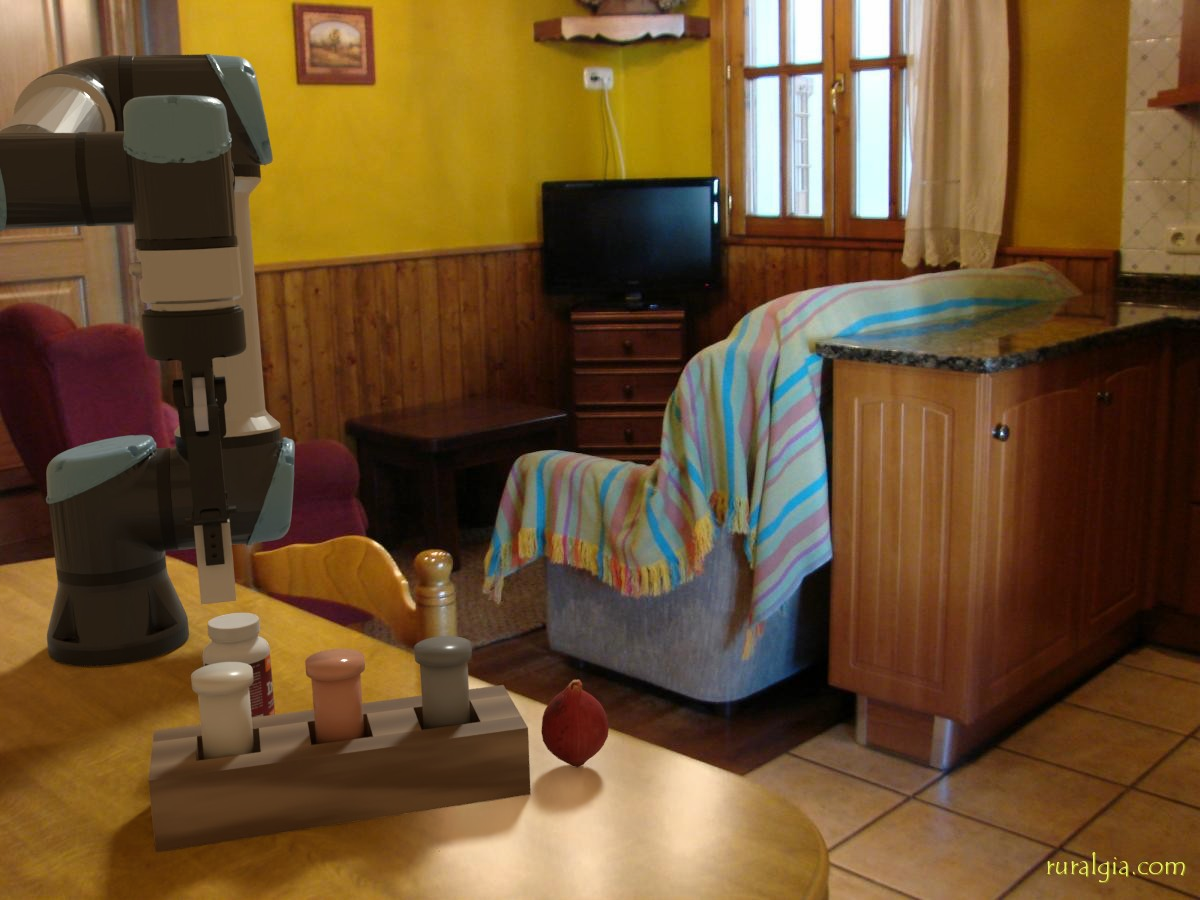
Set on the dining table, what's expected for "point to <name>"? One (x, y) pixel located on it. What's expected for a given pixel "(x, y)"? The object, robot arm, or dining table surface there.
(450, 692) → the plug blue-grey
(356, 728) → the plug terracotta
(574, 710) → the onion
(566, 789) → the dining table surface
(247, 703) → the plug white
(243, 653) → the pill bottle
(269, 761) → the socket block
